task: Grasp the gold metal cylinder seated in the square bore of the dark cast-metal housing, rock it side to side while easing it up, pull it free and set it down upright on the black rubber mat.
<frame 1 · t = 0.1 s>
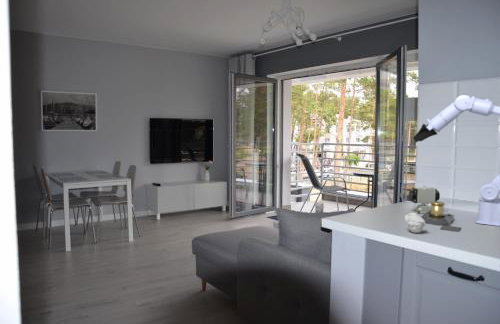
hand: (416, 140, 166), 32 cm above the table, tool tilted 50°, fingers open, 7 cm apart
housing: (436, 221, 155), on the table
white lumpy ball: (414, 233, 137), on the table
gold metal cylinder: (437, 211, 155), in the housing
pneumatic valve: (422, 213, 171), on the table
mat: (450, 228, 143), on the table
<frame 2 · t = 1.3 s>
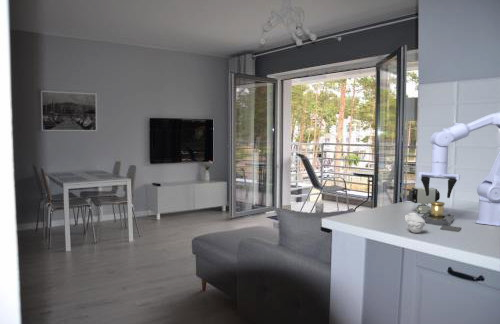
hand: (437, 196, 154), 10 cm above the table, tool pointing down, fingers open, 7 cm apart
nothing on the table moved.
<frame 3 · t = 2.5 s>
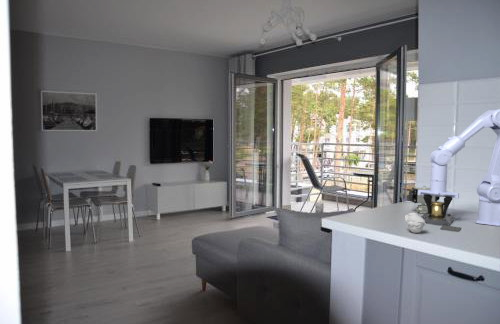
hand: (437, 214, 155), 3 cm above the table, tool pointing down, fingers closed on gold metal cylinder, 5 cm apart
gold metal cylinder: (437, 211, 155), in the housing, touching gripper
everything else where it was.
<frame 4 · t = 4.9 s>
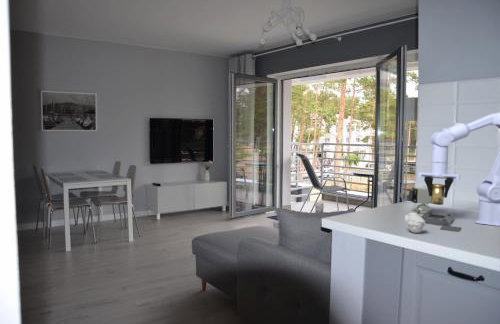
hand: (437, 196, 154), 10 cm above the table, tool pointing down, fingers closed on gold metal cylinder, 5 cm apart
gold metal cylinder: (437, 194, 154), point 11 cm above the table, touching gripper
everything else where it was.
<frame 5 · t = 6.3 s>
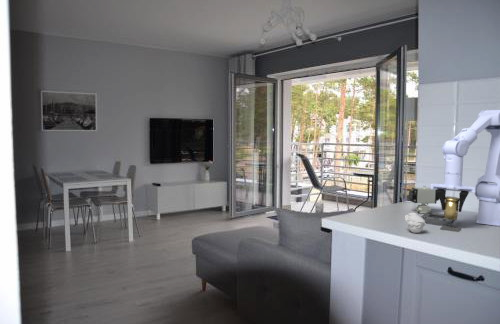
hand: (451, 210, 142), 7 cm above the table, tool pointing down, fingers closed on gold metal cylinder, 5 cm apart
gold metal cylinder: (451, 208, 143), point 8 cm above the table, touching gripper
everything else where it was.
when the fingers open (4 cm above the table, at t = 7.3 s): gold metal cylinder stays where it is, resting on mat.
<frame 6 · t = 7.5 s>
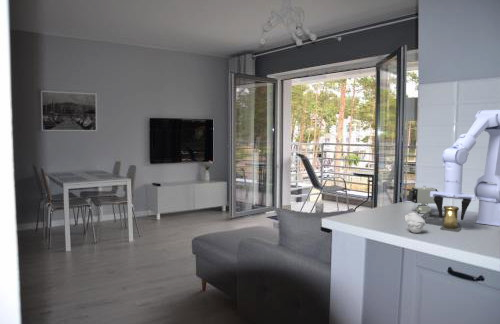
hand: (451, 218, 142), 4 cm above the table, tool pointing down, fingers open, 6 cm apart
gold metal cylinder: (450, 217, 143), on the mat
everything else where it was.
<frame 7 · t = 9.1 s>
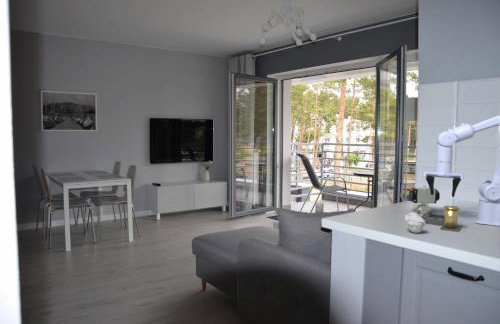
hand: (442, 195, 157), 10 cm above the table, tool pointing down, fingers open, 7 cm apart
nothing on the table moved.
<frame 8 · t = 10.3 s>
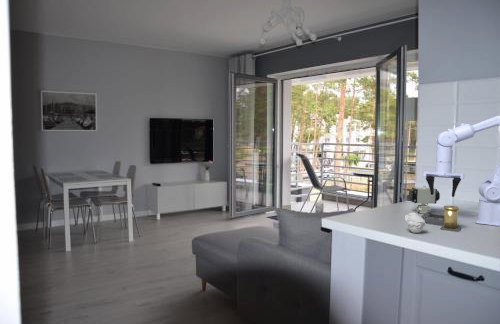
hand: (442, 195, 157), 10 cm above the table, tool pointing down, fingers open, 7 cm apart
nothing on the table moved.
at the end: gold metal cylinder inside the target area on the mat (0.5 cm from its centre), point 4.3 cm above the mat's base; gold metal cylinder tilted 2°; the gripper is holding nothing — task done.
